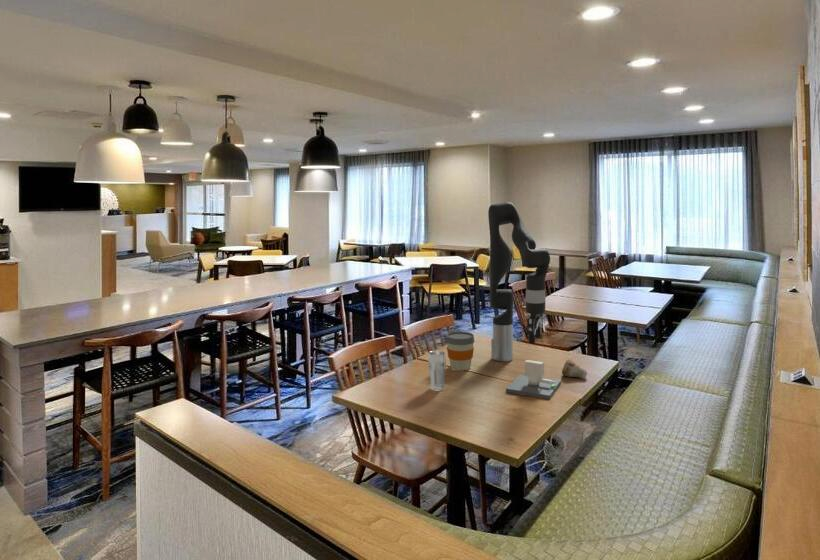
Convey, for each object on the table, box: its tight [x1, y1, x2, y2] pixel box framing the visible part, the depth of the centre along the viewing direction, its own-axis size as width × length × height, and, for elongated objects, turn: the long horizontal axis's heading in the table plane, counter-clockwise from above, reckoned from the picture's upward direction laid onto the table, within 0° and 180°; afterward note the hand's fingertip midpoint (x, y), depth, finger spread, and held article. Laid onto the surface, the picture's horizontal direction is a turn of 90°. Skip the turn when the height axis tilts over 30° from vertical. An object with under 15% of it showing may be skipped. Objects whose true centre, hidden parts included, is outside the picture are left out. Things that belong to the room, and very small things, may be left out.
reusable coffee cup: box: [445, 331, 475, 371], centre depth 232 cm, size 13×13×15 cm
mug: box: [561, 359, 588, 380], centre depth 218 cm, size 8×10×10 cm
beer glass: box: [427, 350, 447, 391], centre depth 207 cm, size 7×7×15 cm
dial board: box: [505, 374, 562, 400], centre depth 206 cm, size 17×18×2 cm
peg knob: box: [524, 359, 551, 386], centre depth 205 cm, size 10×4×9 cm, turn 59°
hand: (534, 340), depth 203 cm, fingers open, 8 cm apart
